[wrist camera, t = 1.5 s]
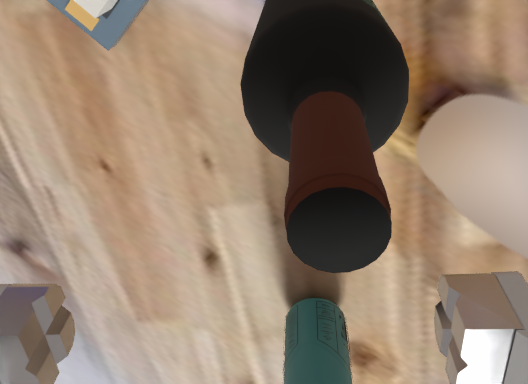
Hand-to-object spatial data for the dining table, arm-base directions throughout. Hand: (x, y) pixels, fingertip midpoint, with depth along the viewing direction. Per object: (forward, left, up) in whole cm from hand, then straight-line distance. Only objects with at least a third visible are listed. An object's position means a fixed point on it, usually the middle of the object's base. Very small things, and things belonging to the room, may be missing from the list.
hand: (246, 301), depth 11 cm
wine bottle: (-1, +2, -33) cm, 33 cm away
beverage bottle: (+21, +24, -33) cm, 45 cm away
